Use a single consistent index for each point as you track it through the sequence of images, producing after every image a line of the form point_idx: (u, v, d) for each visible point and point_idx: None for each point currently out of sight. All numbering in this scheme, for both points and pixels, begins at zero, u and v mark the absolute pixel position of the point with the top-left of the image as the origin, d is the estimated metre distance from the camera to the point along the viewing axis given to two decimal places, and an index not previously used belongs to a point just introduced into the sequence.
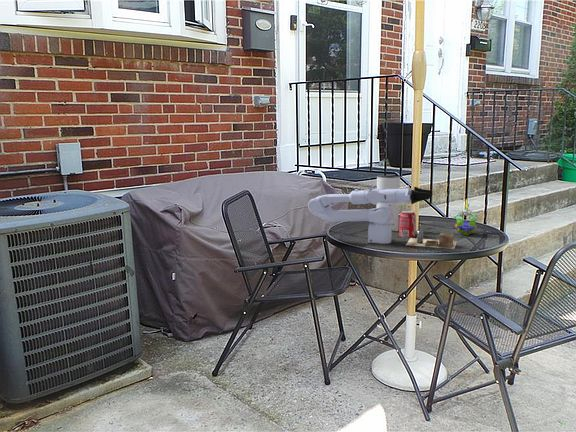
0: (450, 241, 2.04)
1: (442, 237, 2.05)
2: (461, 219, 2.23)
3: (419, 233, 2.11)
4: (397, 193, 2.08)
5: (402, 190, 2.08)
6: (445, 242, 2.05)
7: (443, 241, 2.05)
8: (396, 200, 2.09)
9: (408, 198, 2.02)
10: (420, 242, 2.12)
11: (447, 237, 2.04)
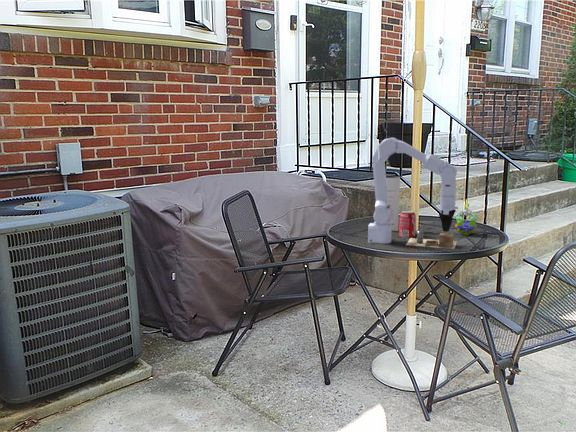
0: (450, 241, 2.04)
1: (442, 237, 2.05)
2: (461, 219, 2.23)
3: (419, 233, 2.11)
4: (450, 198, 2.01)
5: (453, 203, 2.02)
6: (445, 242, 2.05)
7: (443, 241, 2.05)
8: (443, 197, 2.02)
9: (445, 213, 1.98)
10: (420, 242, 2.12)
11: (447, 237, 2.04)
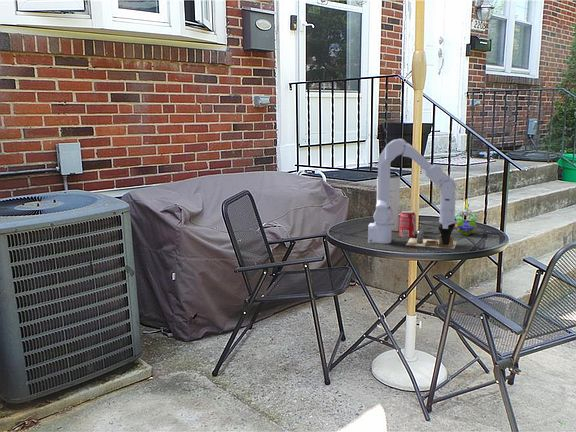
0: (450, 241, 2.04)
1: None
2: (461, 219, 2.23)
3: (419, 233, 2.11)
4: (450, 212, 2.02)
5: (452, 217, 2.03)
6: None
7: None
8: (442, 210, 2.03)
9: (444, 227, 1.99)
10: (420, 242, 2.12)
11: None
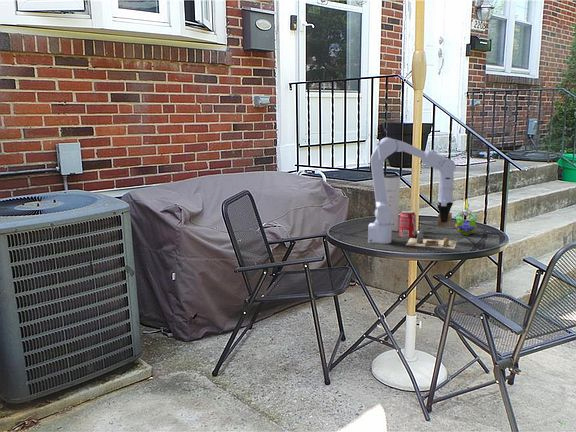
0: (448, 220, 2.10)
1: None
2: (461, 219, 2.23)
3: (419, 233, 2.11)
4: (448, 190, 2.08)
5: (451, 195, 2.09)
6: None
7: None
8: (441, 189, 2.09)
9: (443, 204, 2.05)
10: (420, 242, 2.12)
11: None
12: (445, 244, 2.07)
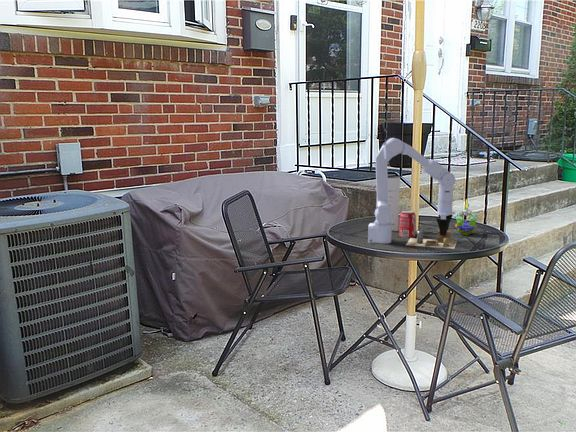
0: (448, 237, 2.11)
1: None
2: (461, 219, 2.23)
3: (419, 233, 2.11)
4: (448, 203, 2.09)
5: (450, 208, 2.10)
6: (443, 238, 2.12)
7: (441, 236, 2.12)
8: (440, 202, 2.10)
9: (442, 218, 2.06)
10: (420, 242, 2.12)
11: None
12: (445, 244, 2.07)
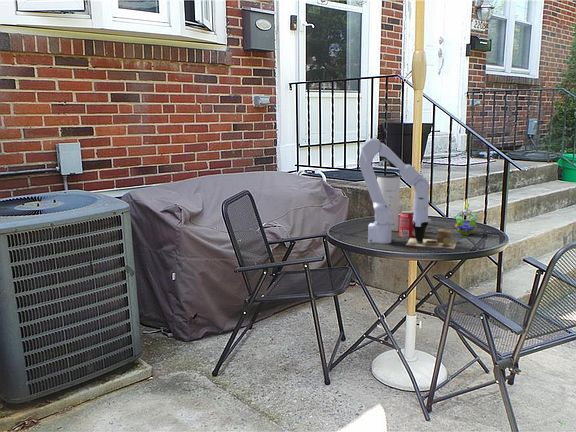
0: (448, 237, 2.11)
1: (440, 233, 2.12)
2: (461, 219, 2.23)
3: None
4: (423, 210, 2.08)
5: (426, 215, 2.09)
6: (443, 238, 2.12)
7: (441, 236, 2.12)
8: (415, 209, 2.09)
9: (417, 225, 2.05)
10: (420, 242, 2.12)
11: (445, 233, 2.12)
12: (445, 244, 2.07)
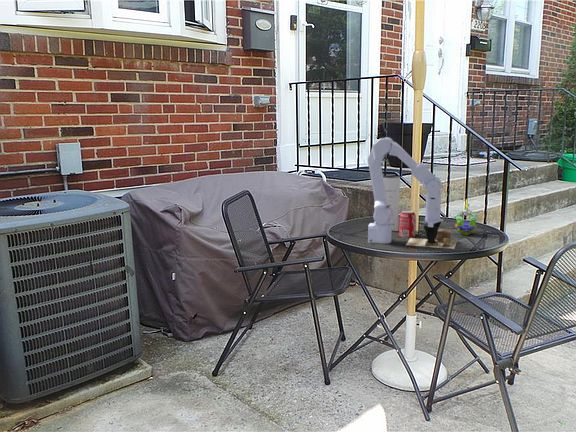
0: (448, 237, 2.11)
1: (440, 233, 2.12)
2: (461, 219, 2.23)
3: None
4: (435, 211, 2.04)
5: (438, 215, 2.05)
6: (443, 238, 2.12)
7: (441, 236, 2.12)
8: (428, 209, 2.05)
9: (429, 225, 2.01)
10: None
11: (445, 233, 2.12)
12: (445, 244, 2.07)
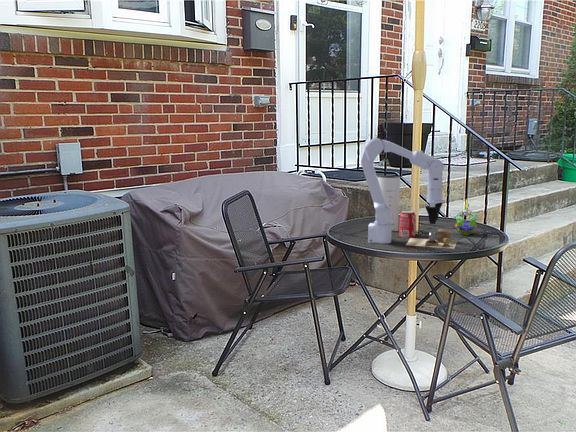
0: (448, 237, 2.11)
1: (440, 233, 2.12)
2: (461, 219, 2.23)
3: (431, 235, 2.08)
4: (437, 191, 2.06)
5: (440, 196, 2.07)
6: (443, 238, 2.12)
7: (441, 236, 2.12)
8: (429, 190, 2.08)
9: (431, 205, 2.04)
10: None
11: (445, 233, 2.12)
12: (445, 244, 2.07)
